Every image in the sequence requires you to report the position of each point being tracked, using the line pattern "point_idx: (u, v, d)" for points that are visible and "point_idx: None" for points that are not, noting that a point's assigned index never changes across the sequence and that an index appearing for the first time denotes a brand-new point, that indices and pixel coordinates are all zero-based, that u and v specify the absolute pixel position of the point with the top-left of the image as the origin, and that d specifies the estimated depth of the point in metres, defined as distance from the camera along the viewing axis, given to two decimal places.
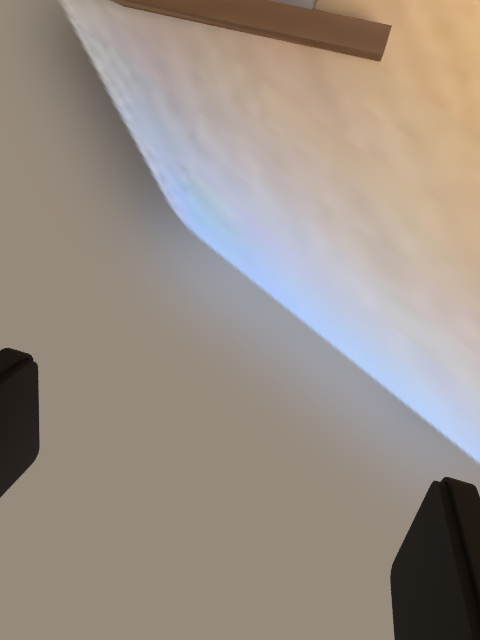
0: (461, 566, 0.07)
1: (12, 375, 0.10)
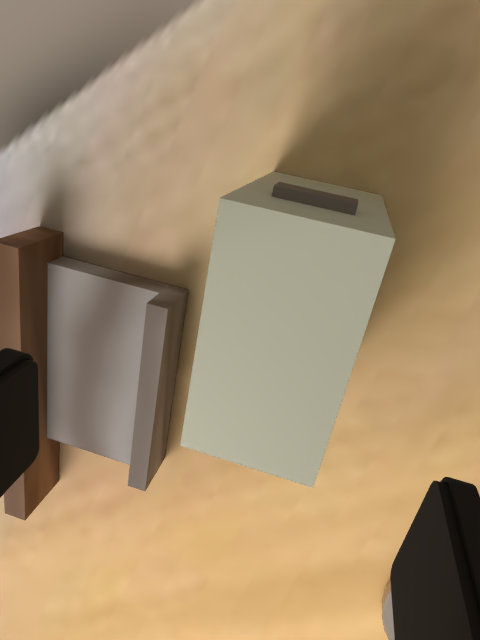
0: (461, 566, 0.07)
1: (12, 375, 0.10)
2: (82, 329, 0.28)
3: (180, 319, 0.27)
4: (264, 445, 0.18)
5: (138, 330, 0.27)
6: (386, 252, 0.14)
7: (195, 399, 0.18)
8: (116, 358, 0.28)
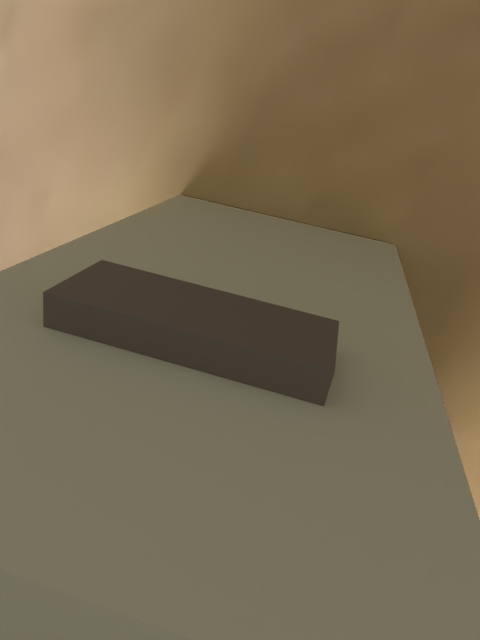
0: None
1: None
2: None
3: None
4: None
5: None
6: None
7: None
8: None
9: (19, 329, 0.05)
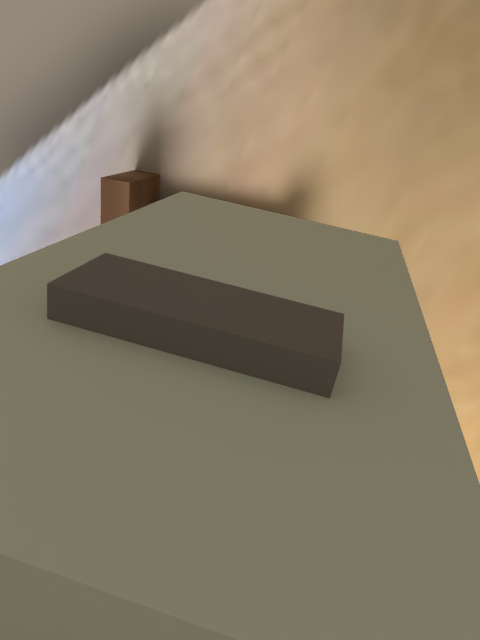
0: None
1: None
2: None
3: None
4: None
5: None
6: None
7: None
8: None
9: (23, 321, 0.05)
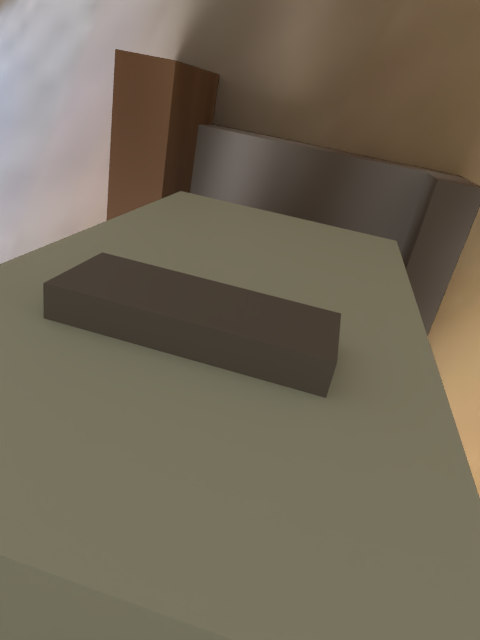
0: None
1: None
2: None
3: None
4: None
5: None
6: None
7: None
8: None
9: (19, 320, 0.05)
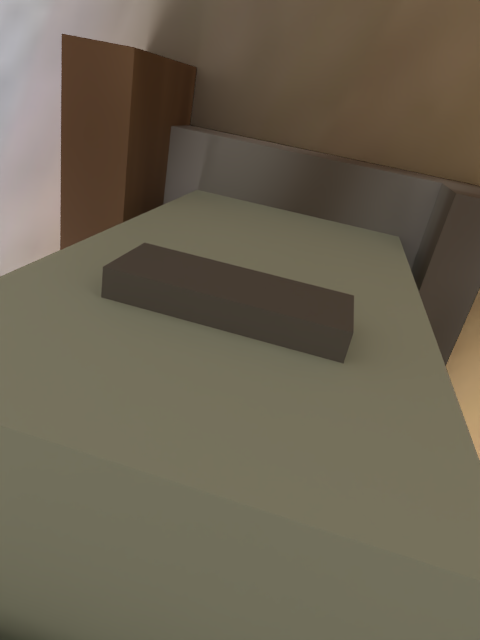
0: None
1: None
2: None
3: None
4: None
5: None
6: (478, 633, 0.03)
7: None
8: None
9: (82, 299, 0.05)
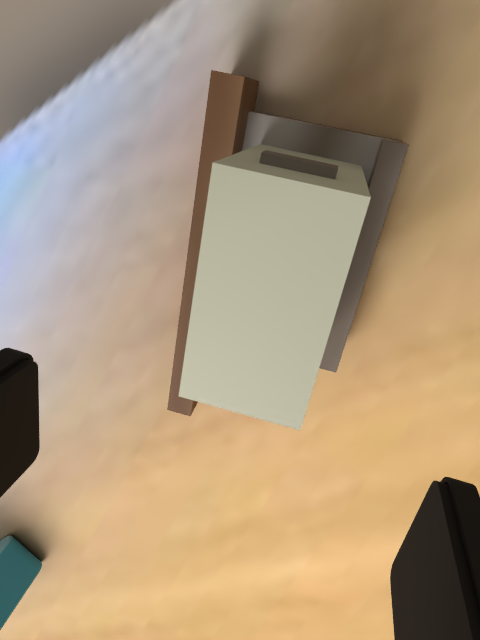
0: (461, 566, 0.07)
1: (12, 375, 0.10)
2: None
3: None
4: (255, 392, 0.19)
5: None
6: (362, 209, 0.15)
7: (192, 352, 0.19)
8: None
9: (254, 162, 0.18)
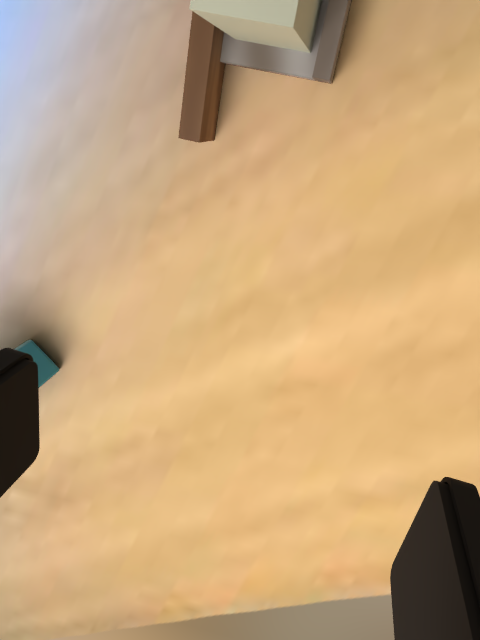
0: (461, 566, 0.07)
1: (12, 375, 0.10)
2: None
3: None
4: None
5: None
6: None
7: None
8: None
9: None
